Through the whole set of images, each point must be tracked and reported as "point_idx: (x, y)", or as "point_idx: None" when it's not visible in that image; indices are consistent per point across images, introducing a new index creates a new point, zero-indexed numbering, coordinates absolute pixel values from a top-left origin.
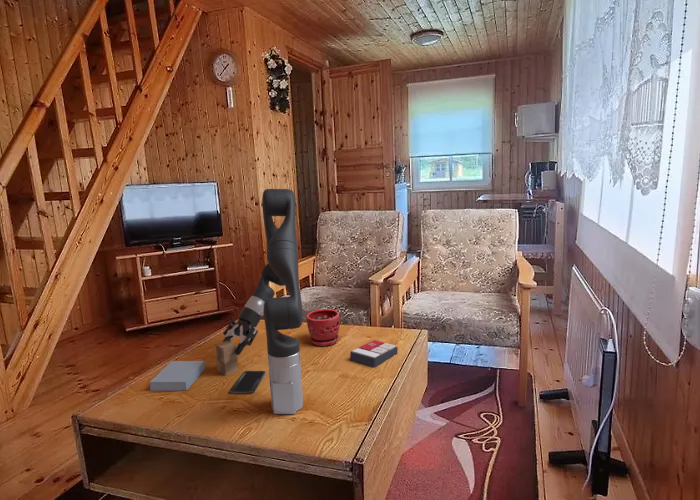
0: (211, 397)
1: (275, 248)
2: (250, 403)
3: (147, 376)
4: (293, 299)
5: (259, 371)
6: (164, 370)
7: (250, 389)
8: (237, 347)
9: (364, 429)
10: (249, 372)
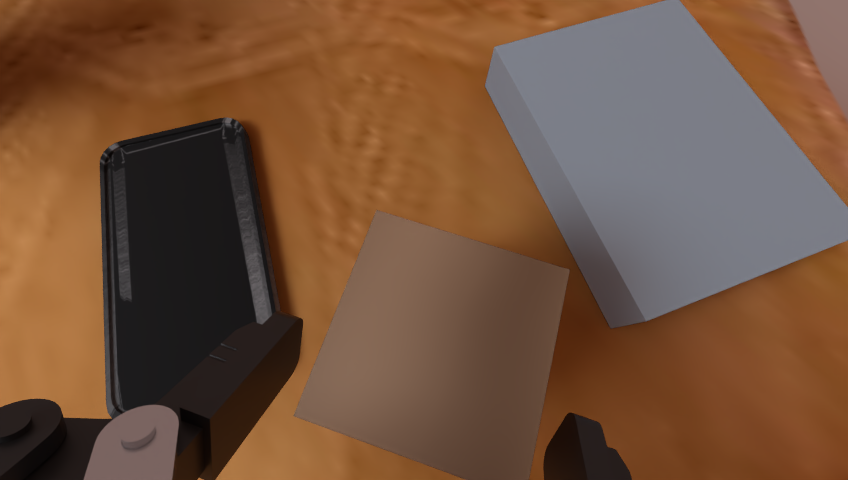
0: (314, 73)
1: None
2: (88, 84)
3: (824, 135)
4: None
5: None
6: (751, 111)
7: (127, 170)
8: (240, 353)
9: None
10: None
